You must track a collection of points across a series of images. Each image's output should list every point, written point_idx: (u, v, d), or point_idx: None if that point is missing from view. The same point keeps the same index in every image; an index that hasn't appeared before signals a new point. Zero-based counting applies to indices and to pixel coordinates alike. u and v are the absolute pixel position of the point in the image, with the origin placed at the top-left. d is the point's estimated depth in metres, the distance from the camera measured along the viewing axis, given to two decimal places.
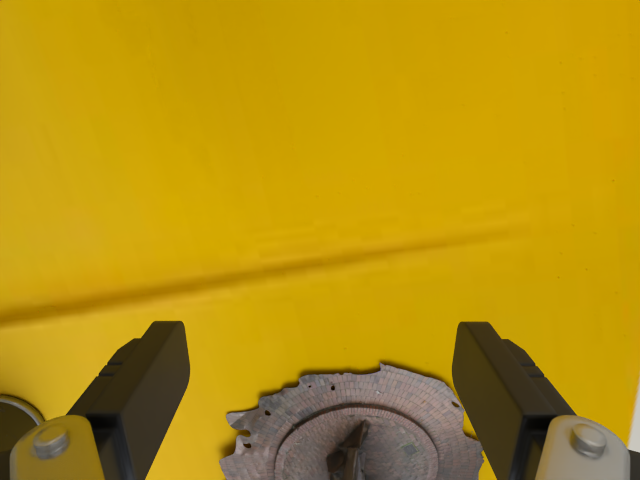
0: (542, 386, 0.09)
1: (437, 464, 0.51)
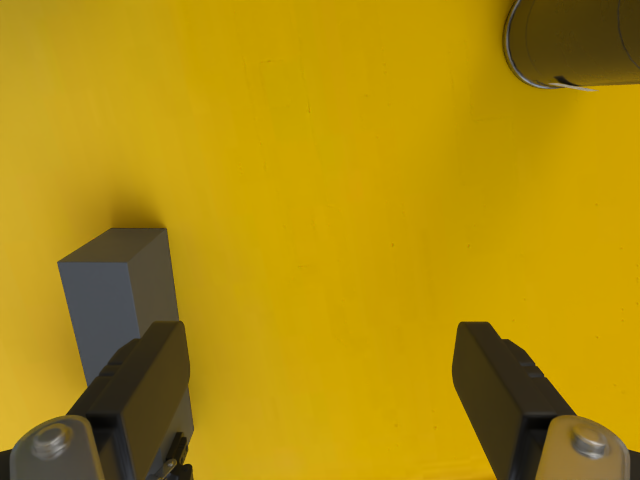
0: (542, 386, 0.09)
1: None
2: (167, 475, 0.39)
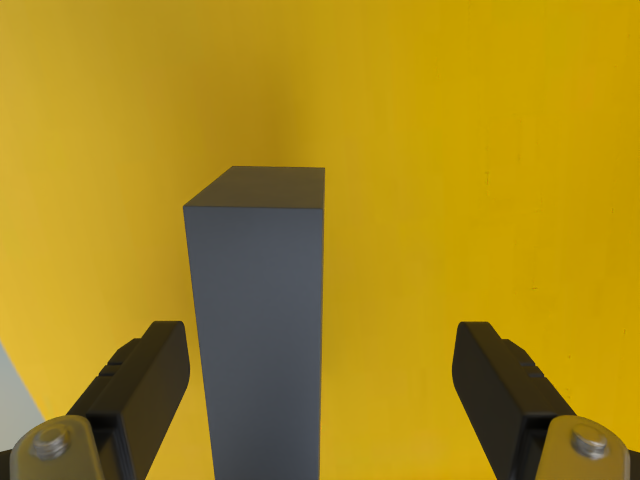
0: (542, 386, 0.09)
1: None
2: None
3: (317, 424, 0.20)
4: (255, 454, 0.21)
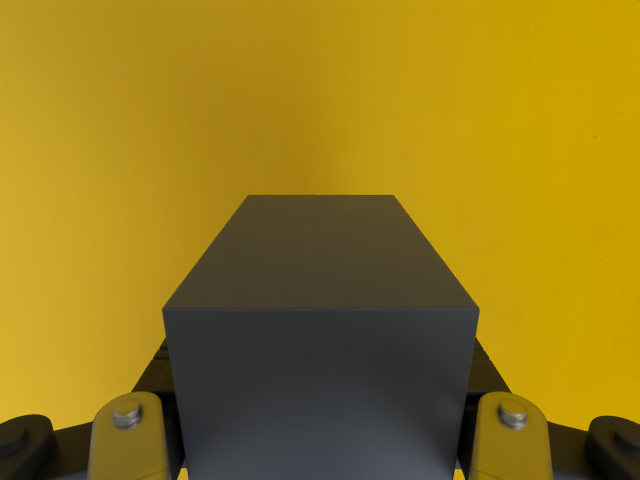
0: (485, 368, 0.09)
1: None
2: None
3: None
4: None
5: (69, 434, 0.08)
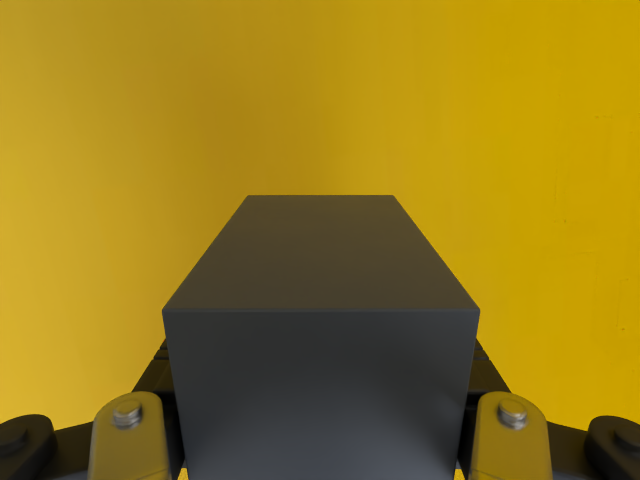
0: (485, 368, 0.10)
1: None
2: None
3: None
4: None
5: (70, 434, 0.08)
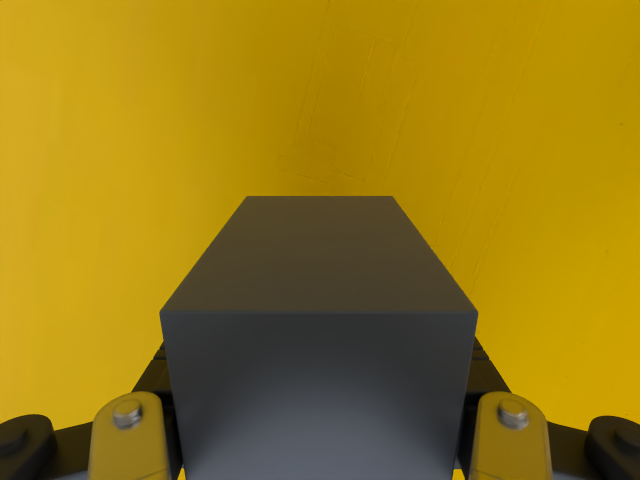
0: (485, 368, 0.10)
1: None
2: None
3: None
4: None
5: (69, 434, 0.08)
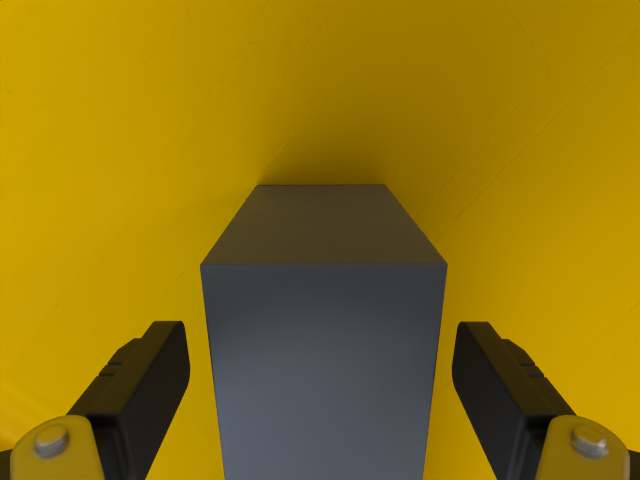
0: (542, 386, 0.09)
1: None
2: None
3: None
4: None
5: None
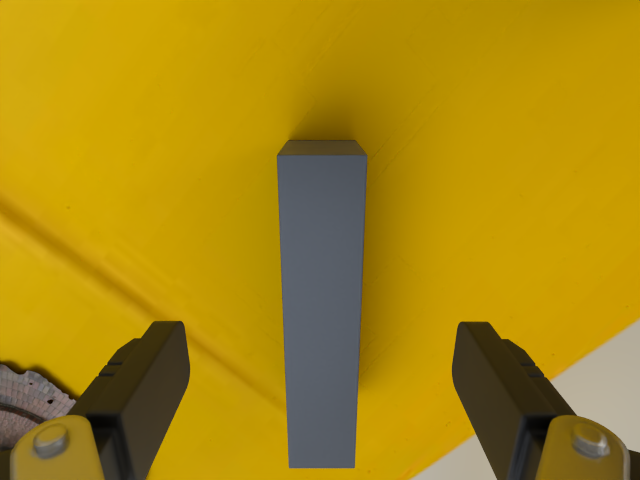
0: (542, 386, 0.09)
1: None
2: None
3: (359, 313, 0.29)
4: (315, 339, 0.30)
5: None
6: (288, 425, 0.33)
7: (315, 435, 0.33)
